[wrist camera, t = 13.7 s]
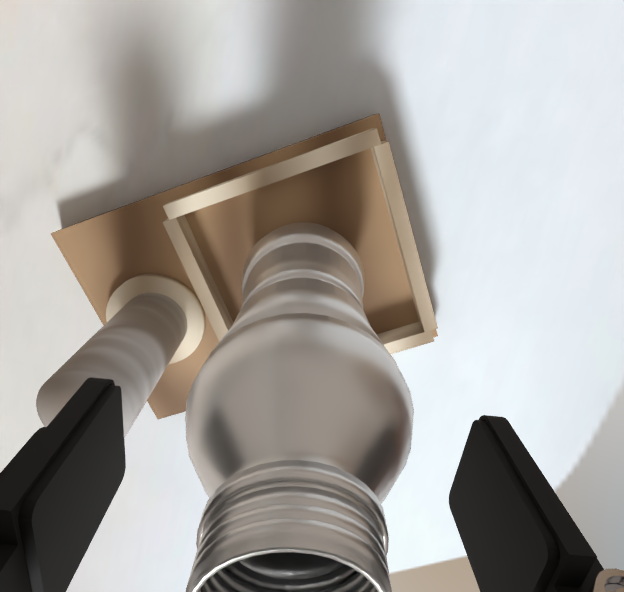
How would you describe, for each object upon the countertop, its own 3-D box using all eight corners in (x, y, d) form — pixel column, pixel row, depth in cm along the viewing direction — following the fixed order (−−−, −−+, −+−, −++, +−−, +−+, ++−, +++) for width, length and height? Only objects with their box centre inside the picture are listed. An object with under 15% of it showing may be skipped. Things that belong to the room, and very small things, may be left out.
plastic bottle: (238, 222, 25) (33, 500, 7) (354, 206, 25) (483, 452, 6) (258, 321, 28) (149, 734, 9) (364, 308, 27) (480, 707, 9)
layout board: (375, 114, 24) (422, 106, 14) (432, 327, 29) (497, 435, 19) (61, 228, 26) (-91, 293, 16) (163, 408, 31) (93, 542, 21)
